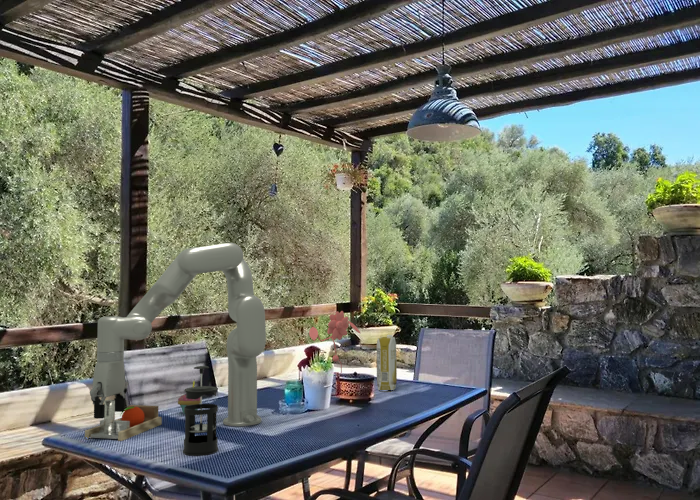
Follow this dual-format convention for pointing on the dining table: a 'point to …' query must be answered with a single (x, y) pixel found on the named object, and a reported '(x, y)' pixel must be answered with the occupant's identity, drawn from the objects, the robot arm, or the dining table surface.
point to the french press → (200, 443)
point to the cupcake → (188, 400)
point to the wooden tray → (148, 423)
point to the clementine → (133, 416)
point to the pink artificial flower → (335, 330)
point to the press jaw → (110, 423)
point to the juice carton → (386, 363)
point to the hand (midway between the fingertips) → (109, 414)
